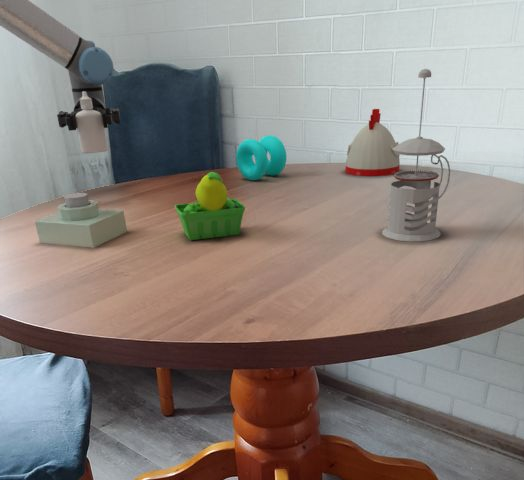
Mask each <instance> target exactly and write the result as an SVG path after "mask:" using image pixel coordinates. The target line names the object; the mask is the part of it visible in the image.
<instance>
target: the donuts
mask: <svg viewBox="0 0 524 480" xmlns="http://www.w3.org/2000/svg"><path fill="white" fill-rule="evenodd" d="M268 153H269V156H270V157H269V158H270V159H269V158H268ZM235 157H236V158H235V159H236V165H237V168H238V171H239V172H240V174H241V175H242V176H243V177H244V178H245V179H247V180H249V181H257V180H260V179H261V178H263V177H264V176H265V175H266V176H271V177H274V176H277V175H279V174H281V173H282V172H283V170H284V168H285V167H286V164H287V150H286V148H285V144H284V143H283V142H282V140H281V139H280V138H278V137H277V136H275V135H272V134H270V135H265V136H263V137H262V138H260V139H259V140H256V139H254V138H246V139H244V140H243V141H242V142H240V144H239V145H238V147H237V149H236V154H235ZM253 157H254V160H253Z"/></svg>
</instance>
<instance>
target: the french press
mask: <svg viewBox="0 0 524 480" xmlns="http://www.w3.org/2000/svg"><path fill="white" fill-rule="evenodd" d="M417 78H418V79H423V83H422V95H421V107H420V117H419V129H418V132H419V133H418V136H416V137H415V138H409V139H407V140H404V141H402V142H400V143H398V145H397V146H395V147H394V148H393V151H394V153H396V154H400V155H401V156H413V157H414V156H415V157H416V163H415V164H416V165H415V169H411V170H400V171H399V172H396V173H395V174H393V177H394V179H396V180H395V181H393V182H391V184H390V193H389V197H390V201H389V209H388V214H389V215H388V223H387V226H386V227H385V228H384V229H383V230H382V231H381V233H382V236H384V237H386V238H387V239H391V240H394V241H400V242H427V241H432V240H435V239H438V238H439V237H440V236H441V235H442V234H441V232H440V230H439V229H438V228H437V227H436V225H437V224H436V223H437V217H438V208H439V207H438V206H439V200H440V199H441V198H442V197H443V196H444V194H445V193H446V191H447V189H448V187H449V184H450V179H451V178H450V177H451V167H450V162H449V161H448V159H447V157H446V156H444V155H443V153H444V151H445V150H446V148H445V147H444V145H442V144H441V143H440V142H439V141H437V140H433V139H432V138H424V137H423V136H421V133H422V132H421V131H422V120H423V112H424V111H423V109H424V100H425V99H424V97H425V88H426V87H425V85H426V80H427V78H432V70H430V69H429V68H423V69H421V70H420V71H419V72H418V76H417ZM439 154H440V155H439ZM420 156H422V157H423V156H430V163H431V164H432V165H436V166H437V165H439V163H440V169H441V171H440V175H439V173H438V172H435V171H433V170H421V169H418V167H419V166H418V165H419V157H420ZM433 157H436V158H437V162H434V161H433ZM441 158H442V159H444V161H445V163H446V164H447V168H448V175H447V182H446V185H445V188H444V190H443V192H442V193H441V194H440V188H441V185H442V182H443V178H444V177H443V176H444V168H443V167H444V166H443V162H442V160H441ZM439 177H440V180H439V182H437V181H434V180H437V179H438V178H439ZM432 181H433V187H431V185H432ZM402 187H409V188H402ZM407 203H409V204H413V205H414V206H412V205H407ZM430 205H431V207H429V206H430ZM429 213H430V215H428V214H429ZM428 221H429V222H428Z"/></svg>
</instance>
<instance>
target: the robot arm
mask: <svg viewBox="0 0 524 480" xmlns="http://www.w3.org/2000/svg"><path fill="white" fill-rule="evenodd" d="M0 27H2V28H3V29H5V30H6V31H8V32H9V33H10V34H12V35H14V36H15V37H17V38H18V39H20V40H21V41H23V42H25V43H26V44H28V46H29V45H30V47H32V48H33V49H36V50H37V51H38V52H40V53H42V54H43V55H45V57H48V58H49V59H51V60H52V61H54V63H55V62H56V63H57V64H59V65H60V66H61V67H63V68H65V69H66V70H67V71H68V77H69V81H70V87H71V92H72V98H73V99H72V100H73V103H74V107H73V111H71V112H70V113H69V112H68V111H63V110H60V111H58V114H56V118H57V122H58V126H59V128H61V129H63V128H65V127H67V129H68V131H77V125H76V120H75V115H76V114H77V113H78V112H80V111H82V110H83V109H81V105H80V98H82V91H86V93H87V96H88V97H89V98H91V99H92V105H93V108H92V109H93V110H95V111H98V112H100V113H101V114H102V119H103V125H104V129H108V126H110V125H113V122H114V124H117V125H120V124H121V123H122V122H121V115H120V108H119V107H114V108H111V107H107V106H106V100H105V96H104V95H105V94H104V90H103V85H104V84H106V83H108V82H109V81H110V80H111V78H112V77H113V75H114V61H113V60H112V58H111V56H110V54H108V52H107V51H106V50H104V49H102V48H101V47H99V46H96V44H95V42H94V41H93V40H86V39H84V38H82V37H81V36H80V35H78V34H77V33H76V32H75V31H73V30H71V29H70V28H68V27H67V26H66V25H64V24H63V23H62V22H60V21H59V20H57V19H56V18H55V17H53V16H52V15H50V14H48V13H47V12H46V11H44V10H43V9H41V8H40V7H39V6H37V5H36V4H34V3H33V2H32V1H30V0H0Z"/></svg>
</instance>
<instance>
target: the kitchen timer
mask: <svg viewBox="0 0 524 480" xmlns="http://www.w3.org/2000/svg"><path fill="white" fill-rule="evenodd" d="M381 114H382V113H381V112H380V108H374V109H372V110H371V114H370V120H368V123H367V124H366V125H364V127H362V128H361V129H360V130H359V132H357V134H356V135H355V137H354V139H353V140H352V142H351V143H350V144H348V148H347V153H346V159H345V168H344V169H345V170H344V171H345V173H346V174H348V175H351V176H359V177H383V176H391V175H394V174H395V173H396V172H400V165H401V164H400V163H401V162H400V154H396V153H394V151H393V148H394V147H395V146H397V145H398V144H399V141H395V138H394V136H393V135H392V133H391V131H390V130H389V129H388V128H387V127H386V126H385V125H383V124H382V123H380V121H381Z"/></svg>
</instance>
